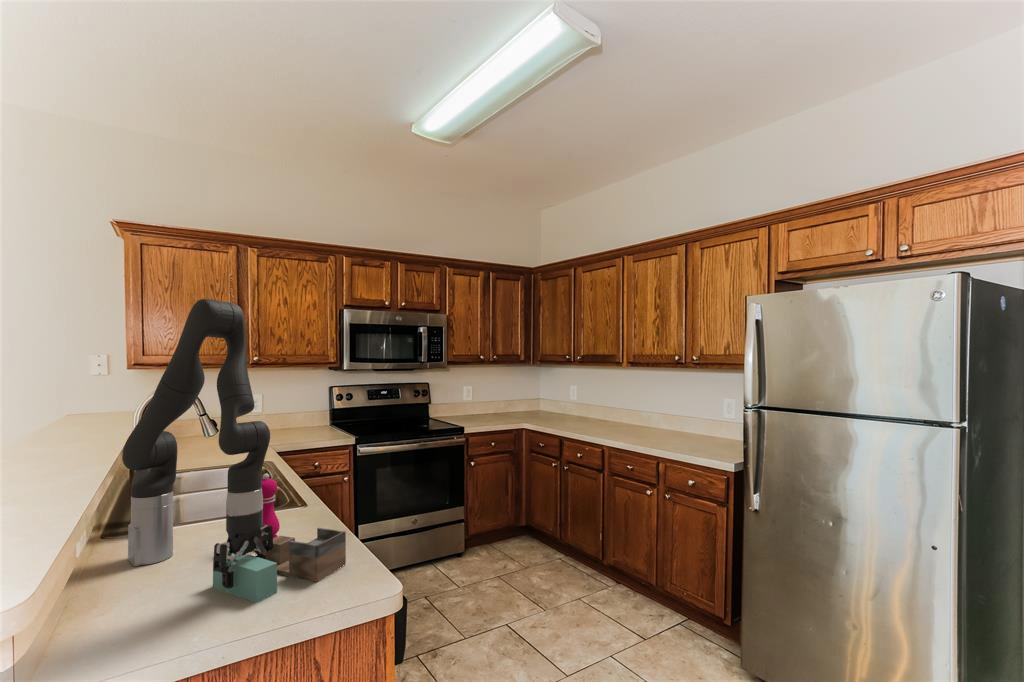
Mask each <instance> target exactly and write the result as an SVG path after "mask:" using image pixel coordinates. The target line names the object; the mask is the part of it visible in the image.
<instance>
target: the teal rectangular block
mask: <svg viewBox="0 0 1024 682" xmlns="http://www.w3.org/2000/svg"><path fill="white" fill-rule="evenodd" d="M231 556H235V554H233V553H232V555H231ZM213 560H214V556H213V558H212V561H213ZM230 562H231V561H230ZM230 562H229V564H230ZM229 564H228V566H229ZM232 571H234V586H233V587H232V588H230V589H228V588H224V586H223V585H222V573H221V572H216V571H213V570H212V587H213V588H215V589H218V590H220V591H223V592H226V593H228V592H229V594H231V595H234V596H236V597H239V598H242V599H244V600H249V601H251V602H254V603H260V602H262V601H263V600H265V599H267V598H270V597H272V596H273V595H277V594H278V574H277V563H276V562H272V561H269V560H266V559H262V558H259V557H256V555H252V554H249V553H247V554H245V555H243V556H241V558H240V560H239V561H238V562H237V563H236V564H235V566H234V568H233V570H232Z"/></svg>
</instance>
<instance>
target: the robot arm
mask: <svg viewBox="0 0 1024 682" xmlns="http://www.w3.org/2000/svg"><path fill="white" fill-rule="evenodd" d="M207 337H208V338H217V339H218V338H219V339H224V341H225V345H226V347H227V348H226V349H227V352H226V356H225V360H224V362H223V363H222V365H221V367H220V370H219V372H218V374H217V379H216V391H217V395H218V400H219V406H220V424H219V426H220V427H219V433H218V446H219V449H220V450H221V451H222V452H223V453H224V454H225V455H228V456H235V455H240V454H247V455H246V457H245V458H244V459H243V460H241V461H240V462H237V463H235V464H232V465H231V466H230V467H229V468H228V469H227V495H226V502H225V504H226V505H225V508H226V511H225V516H226V517H225V531H226V533H227V535H228V536H227V539H226V541H225V542H222V543H220V542H216V543H215V544H214V546H213V557H214V560H213V559H212V572H213V571H216V572H221V573H222V585H223V586H224V588H228V589H230V588H232V587H233V586H234V571H232V570H233V568H234V566H235V564H236V563H237V562H238V561H239V560H240V558H241V556H243V555H245V554H249V553H252V552H253V553H255V556H256V557H259V558H262V559H266V555H267V552H268V551H269V550H272V549H273V532H272V526H269V525H263V494H262V479H263V478H262V476H263V475H262V472H263V471H262V470H263V467H264V463H265V459H266V455H267V451H268V448H269V445H270V442H271V431H270V428H269V426H268V425H267V424H266V422H264V421H261V420H255V421H254V420H253V421H245V422H237V418H239V417H243V416H245V415H248V414H250V413H252V412H253V411H254V409H255V399H254V395H253V391H252V387H251V386H252V385H251V382H250V377H249V372H248V361H247V360H248V359H247V358H248V357H247V356H248V354H247V332H246V321H245V314H244V312H243V310H242V308H241V307H240V306H239V305H238V304H236V303H233V302H229V301H223V300H222V301H221V300H217V299H210V298H200V299H199V300H196V302H195V303H194V304H193V305H192V307H191V309H190V310H189V313H188V315H187V318H186V320H185V324H184V326H183V329H182V332H181V335H180V337H179V340H178V343H177V345H176V348H175V350H174V352H173V355H172V356H171V359H170V361H169V363H168V365H167V366H166V368H165V370H164V372H163V374H162V376H161V378H160V380H159V382H158V384H157V386H156V389H155V391H154V393H153V396H152V398H151V400H150V401H149V403H148V405H147V407H146V409H145V411H144V412H143V414H142V416H141V418H140V419H139V420H138V422H137V424H136V426H135V427H134V428H133V430H132V431H131V433H130V434H129V436H128V437H127V439H126V441H125V443H124V446H123V449H122V454H121V456H122V463H123V466H124V467H125V468H127V469H128V470H130V471H136V470H145V469H150V471H149V472H148V474H147V475H146V476H145V477H143V478H142V479H141V480H139V481H137V482H136V483H134V484H133V485H132V487H131V486H130V523H129V524H128V526H127V531H128V532H127V535H128V536H127V560H128V562H129V563H130V564H131V565H132V566H133V567H137V566H144V565H151V564H156V563H157V564H158V563H160V562H163V561H165V560H167V559H169V558H171V557H172V556H173V555H174V485H175V481H176V478H177V468H178V467H177V466H178V465H177V463H178V443H177V440H176V437H175V435H174V434H173V433H172V432H170V431H165V430H166V429H167V428H168V427H169V426H170V425H171V424H172V423H173V422H175V421H176V420H177V419H179V418H180V417H181V416H183V414H185V413H186V412H187V411H188V410H189V409H190V408H191V407H192V406H193V405H194V404H195V403H196V401H197V399H198V397H199V395H200V393H201V391H202V389H203V387H204V384H205V379H206V378H205V372H204V369H203V365H202V362H201V359H200V357H201V356H200V351H201V348H202V346H203V345H202V344H203V343H204V341H205V340H206V338H207ZM260 537H261V542H260V541H259V539H260ZM267 542H268V544H267ZM232 553H233V554H235V556H231V555H232ZM230 561H231V562H230ZM229 562H230V564H229ZM228 564H229V566H228Z"/></svg>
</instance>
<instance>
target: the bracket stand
mask: <svg viewBox="0 0 1024 682" xmlns="http://www.w3.org/2000/svg"><path fill="white" fill-rule="evenodd" d="M316 530H317V531H316V533H317V535H316V538H314V539H312V540H310V541H308V542H300V541H297V540H296V538H295V537H291V536H286V535H277V536H278V537H276V538H274V539H273V549H272V550H269V551H268V552H267V555H266V560H269V561H272V562H276V563H277V575H279V574H280V576H284V575H285V577H289V576H290V578H295V579H299V580H304V579H305V580H304V581H309V580H310V582H314V581H315V582H314V583H318V582H320V581H321V579H322V580H323V579H324V578H327V577H328V576H330V575H332V574H333V573H335V572H336V571H338V570H339V569H338V568H340V567H341V568H343V567H344V566H343V565H345V564H346V562H347V561H346V559H347V558H346V557H347V556H346V555H347V554H346V553H347V552H346V545H347V544H346V543H347V541H346V539H347V538H346V534H347V533H346V532H347V531H343V530H338V529H330V528H323V527H317V528H316ZM267 544H268V542H267ZM342 566H343V567H342ZM345 566H346V565H345ZM341 568H340V569H341ZM337 569H338V570H337ZM335 570H336V571H335ZM334 571H335V572H334ZM332 572H333V573H332ZM331 573H332V574H331ZM329 574H330V575H329ZM326 576H327V577H326ZM319 580H320V581H319Z"/></svg>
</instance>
